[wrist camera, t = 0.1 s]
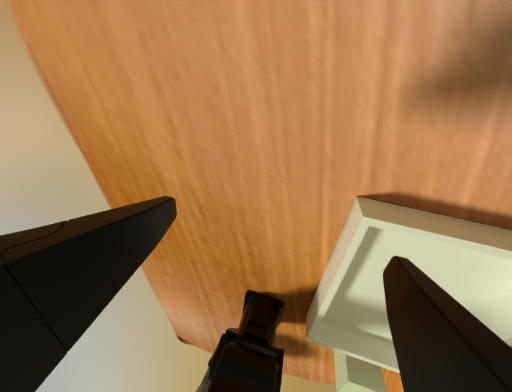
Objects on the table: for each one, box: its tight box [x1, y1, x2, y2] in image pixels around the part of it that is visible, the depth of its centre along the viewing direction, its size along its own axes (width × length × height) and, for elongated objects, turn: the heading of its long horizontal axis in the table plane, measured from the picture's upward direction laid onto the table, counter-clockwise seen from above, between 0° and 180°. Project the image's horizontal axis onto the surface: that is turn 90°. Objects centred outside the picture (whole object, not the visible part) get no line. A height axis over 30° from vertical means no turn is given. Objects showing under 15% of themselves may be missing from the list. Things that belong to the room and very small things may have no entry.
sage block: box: [334, 350, 386, 392], centre depth 31 cm, size 5×5×6 cm
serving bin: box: [305, 196, 512, 373], centre depth 24 cm, size 22×18×4 cm
